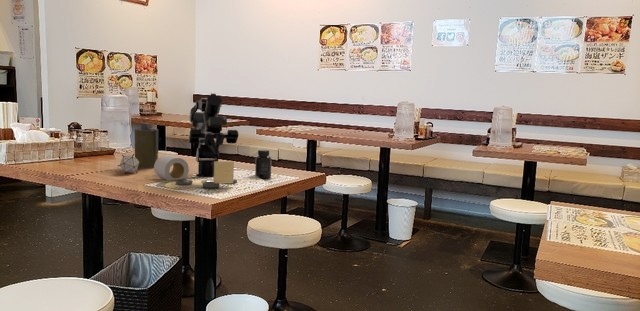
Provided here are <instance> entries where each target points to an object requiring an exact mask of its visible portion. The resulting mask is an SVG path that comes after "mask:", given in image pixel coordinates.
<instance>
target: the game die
mask: <svg viewBox="0 0 640 311" xmlns="http://www.w3.org/2000/svg"><path fill="white" fill-rule="evenodd" d="M121 156H122V158H121V161H120V163H119V165H118V164H117V167H120V168H121V169H122V170H123V171H124V174H125V175H126V174H127V173H136V174H138V171H137V170H138V169H139V168H138V166H139V163H141V161H140V162H139V161H138V160H137V159H136V158H135V153H133V154H132V155H124V154H122V155H121Z"/></svg>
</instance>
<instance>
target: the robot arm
mask: <svg viewBox="0 0 640 311" xmlns="http://www.w3.org/2000/svg"><path fill="white" fill-rule="evenodd" d="M222 102H223V101H222V98H221V97H220V96H218V95H217V94H216V93H210V95H209V96H208V97H201V98H200V99H199V100H196V101H195V105H194V106H192V108H190V112H189V122H190V123H191V126H192V127H193V128H195V129H190V130H189V135H188V142H189V144H198V147H197V148H196V154H195V161H196V162H197V163H198V165H197V166H198V168H197V169H198V172H197V174H195V176H198V177H202V178H210V177H214V161H219V157H220V156H219V155H220V151H219V147H220V146H221V145H223V144H224V140H225V141H226V143H227V144H236V143H237V141H238V138H239V135H240V134H239V131H238V130H237V129H228V130H227V132H222V130H223V127H222V126H227V124H228V119H227V116H219V115H220V114H219V113H220V112H221V107H222ZM198 110H200V112H199V111H198Z"/></svg>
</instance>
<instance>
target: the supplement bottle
mask: <svg viewBox="0 0 640 311" xmlns="http://www.w3.org/2000/svg"><path fill="white" fill-rule="evenodd" d="M254 163H255V166H254V167H255V169H254V170H255V172H254V175H255V177H258V178H260V179H261V180H268V179H272V157H271V156H270V150H268V149H258V151H257V156H256V157H255V162H254Z"/></svg>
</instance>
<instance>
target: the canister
mask: <svg viewBox="0 0 640 311" xmlns="http://www.w3.org/2000/svg"><path fill="white" fill-rule="evenodd" d="M139 125H140V128H134V129H133V130H134V157H135V158H136V159H137V160H138V161H139V162H140V161H141V163H139V166H138V168H137V169H154V164H155V162H156V160H157V159H158V158H159V129H158V128H152V123H151V122H149V123H148V122H140V124H139Z"/></svg>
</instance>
